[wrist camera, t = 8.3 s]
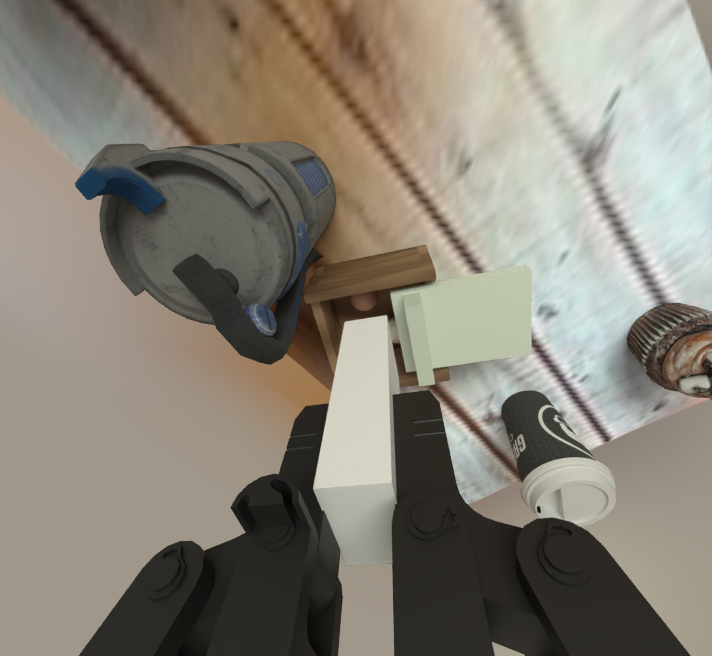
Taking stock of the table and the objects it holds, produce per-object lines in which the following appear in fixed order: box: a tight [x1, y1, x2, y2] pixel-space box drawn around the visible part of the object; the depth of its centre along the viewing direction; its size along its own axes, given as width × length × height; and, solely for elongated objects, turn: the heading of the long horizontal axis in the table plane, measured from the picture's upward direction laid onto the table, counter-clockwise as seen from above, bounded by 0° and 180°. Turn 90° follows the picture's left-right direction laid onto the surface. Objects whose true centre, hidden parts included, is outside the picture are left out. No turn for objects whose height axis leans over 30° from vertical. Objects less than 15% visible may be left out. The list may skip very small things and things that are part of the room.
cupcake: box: [627, 303, 712, 400], centre depth 39 cm, size 10×10×10 cm
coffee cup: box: [502, 391, 616, 527], centre depth 43 cm, size 10×10×15 cm
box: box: [303, 245, 450, 387], centre depth 40 cm, size 13×13×8 cm
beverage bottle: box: [75, 141, 336, 365], centre depth 28 cm, size 10×13×25 cm
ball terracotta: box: [350, 291, 378, 311], centre depth 41 cm, size 3×3×3 cm
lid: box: [390, 265, 531, 387], centre depth 34 cm, size 9×13×4 cm
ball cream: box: [388, 317, 400, 343], centre depth 43 cm, size 3×3×3 cm
